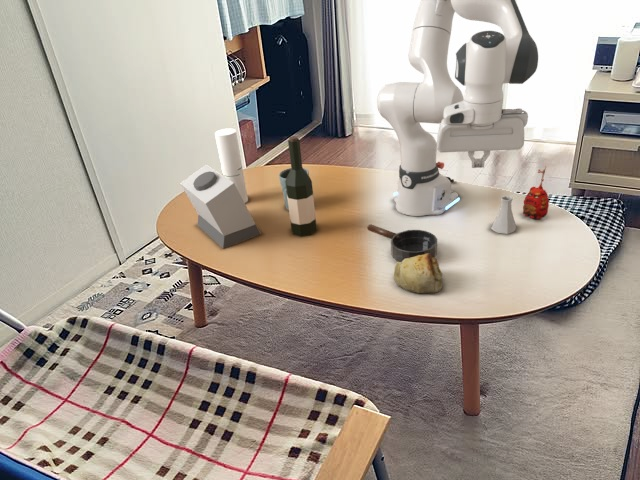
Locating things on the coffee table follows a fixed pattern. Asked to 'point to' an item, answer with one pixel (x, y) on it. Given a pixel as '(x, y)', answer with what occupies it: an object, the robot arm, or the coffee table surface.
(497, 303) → the coffee table surface
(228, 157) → the cylindrical container
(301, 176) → the wine bottle
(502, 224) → the flask
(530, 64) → the robot arm
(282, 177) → the drinking glass
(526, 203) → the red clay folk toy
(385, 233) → the pan handle
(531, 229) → the coffee table surface
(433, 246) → the pan
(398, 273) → the pastry
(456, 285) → the coffee table surface
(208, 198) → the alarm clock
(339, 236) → the coffee table surface
